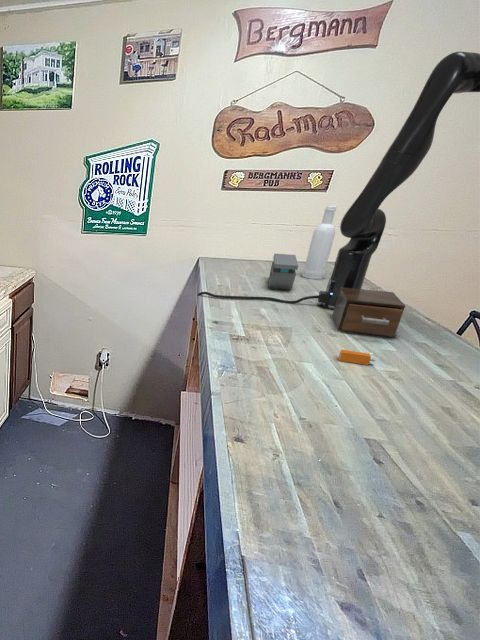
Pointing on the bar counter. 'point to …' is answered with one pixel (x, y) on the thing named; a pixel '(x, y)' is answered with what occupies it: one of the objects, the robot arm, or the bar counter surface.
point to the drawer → (372, 319)
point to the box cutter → (355, 357)
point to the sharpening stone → (283, 271)
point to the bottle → (320, 246)
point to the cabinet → (363, 298)
